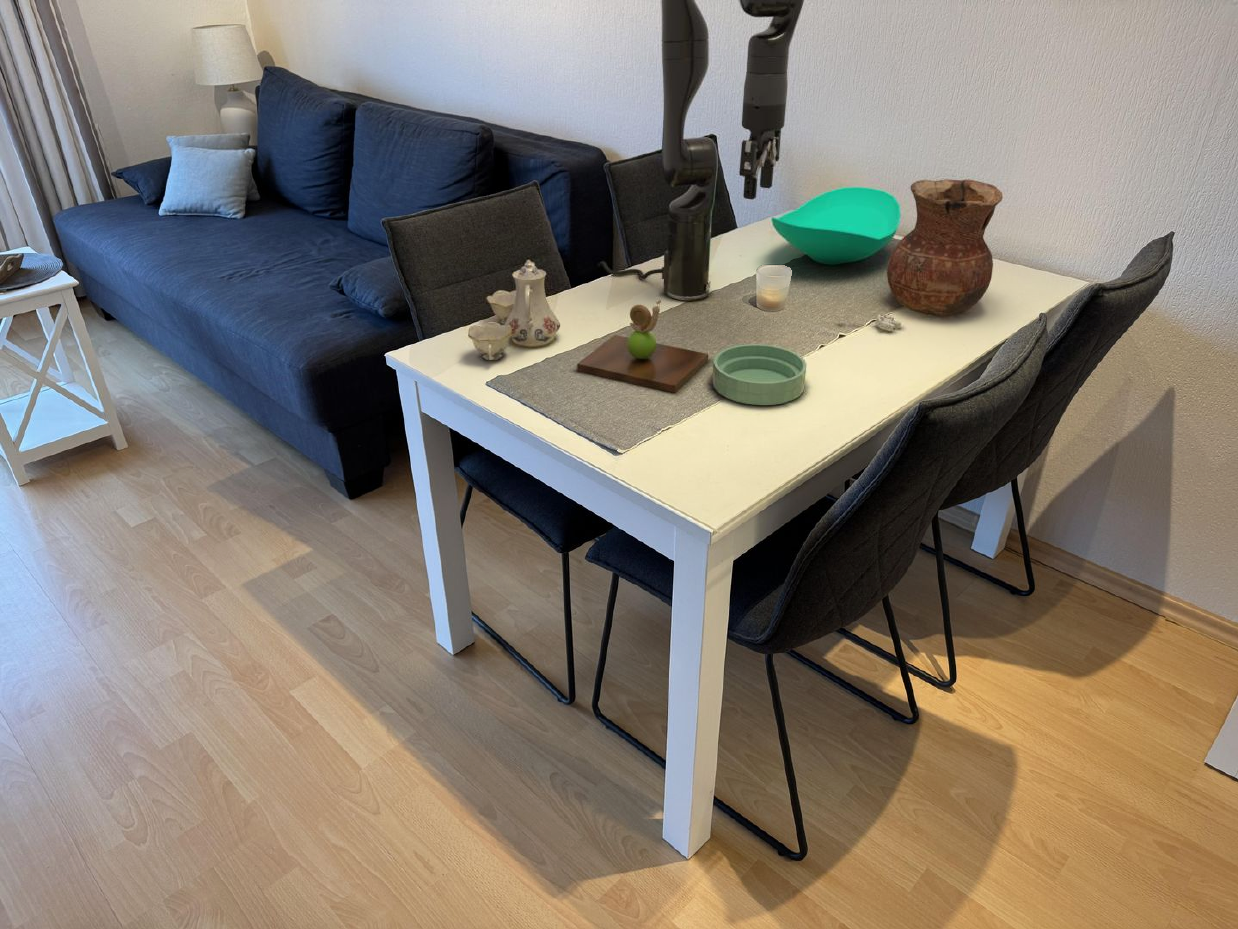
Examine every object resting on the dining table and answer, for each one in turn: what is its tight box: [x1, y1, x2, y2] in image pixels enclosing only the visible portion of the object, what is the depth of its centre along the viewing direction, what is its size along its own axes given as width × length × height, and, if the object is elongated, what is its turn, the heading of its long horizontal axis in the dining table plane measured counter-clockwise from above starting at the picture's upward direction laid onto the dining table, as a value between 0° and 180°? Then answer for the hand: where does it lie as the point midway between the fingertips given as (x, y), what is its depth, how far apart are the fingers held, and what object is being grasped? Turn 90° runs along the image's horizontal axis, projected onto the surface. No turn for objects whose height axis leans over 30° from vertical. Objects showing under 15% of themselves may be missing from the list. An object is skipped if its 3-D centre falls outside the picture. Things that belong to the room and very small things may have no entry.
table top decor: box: [771, 186, 902, 266], centre depth 212 cm, size 40×28×13 cm
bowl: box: [711, 343, 808, 406], centre depth 156 cm, size 16×16×4 cm
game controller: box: [843, 313, 902, 332], centre depth 178 cm, size 6×12×3 cm, turn 100°
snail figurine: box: [627, 299, 662, 359], centre depth 161 cm, size 5×6×12 cm
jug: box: [886, 178, 1004, 317], centre depth 183 cm, size 22×21×25 cm
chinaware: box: [467, 259, 561, 361], centre depth 172 cm, size 28×17×17 cm, turn 1°
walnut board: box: [576, 334, 709, 394], centre depth 164 cm, size 20×15×2 cm
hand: (757, 192), depth 162 cm, fingers open, 8 cm apart
